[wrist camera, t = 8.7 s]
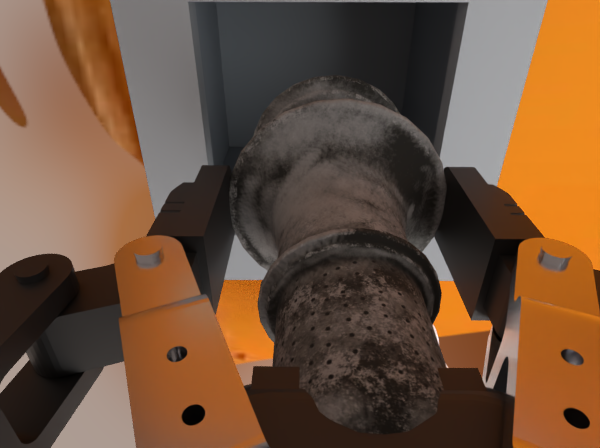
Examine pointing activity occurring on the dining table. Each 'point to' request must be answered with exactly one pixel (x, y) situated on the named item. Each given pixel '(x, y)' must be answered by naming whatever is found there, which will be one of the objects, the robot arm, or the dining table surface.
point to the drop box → (320, 62)
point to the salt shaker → (346, 249)
